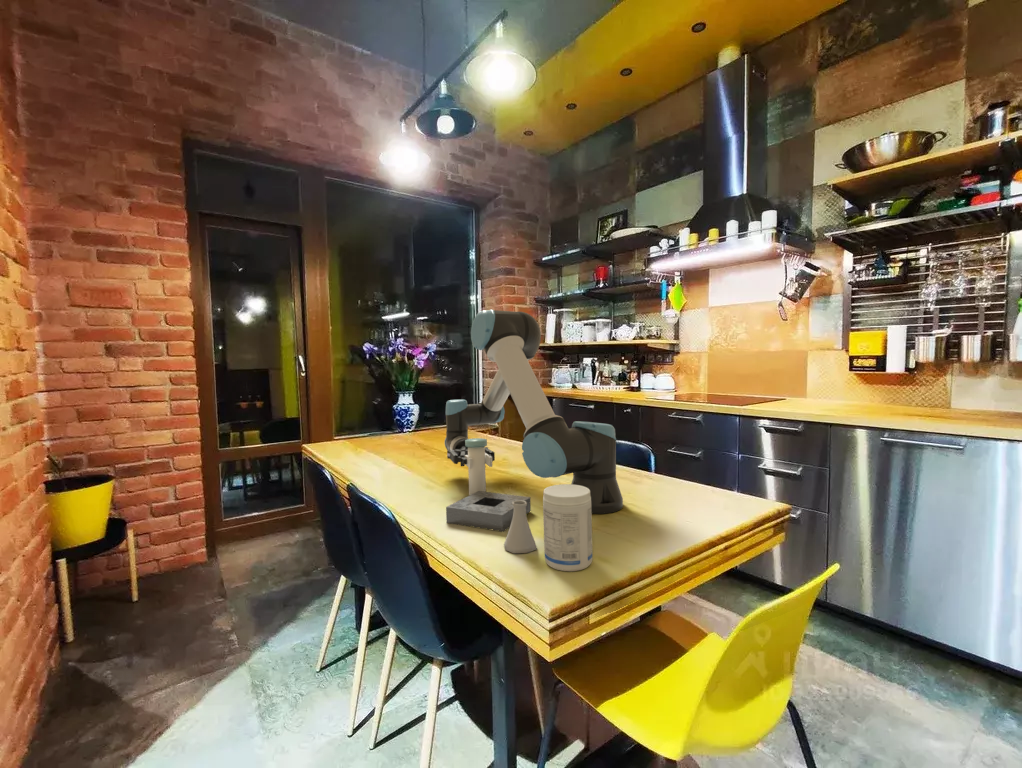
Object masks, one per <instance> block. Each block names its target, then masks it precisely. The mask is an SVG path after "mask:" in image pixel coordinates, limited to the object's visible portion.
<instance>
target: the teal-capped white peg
mask: <svg viewBox="0 0 1022 768" xmlns="http://www.w3.org/2000/svg"><path fill="white" fill-rule="evenodd" d="M465 446H466V447H468V456H469V457H470V458H472V466H473V469H470V468H469V467H467V468H468V469H467V470H468V471H467V472H468V496H469V495H471V494H473V493H475V492H478V491H483V492H487V488H486V487H487V485H486V484H487V483H486V476H487V475H486V464H485V447H488V440H487V439H486V438H483V437H482V438H481V437H480V438H468V439H467V440H465Z"/></svg>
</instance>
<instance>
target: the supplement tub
mask: <svg viewBox="0 0 1022 768" xmlns="http://www.w3.org/2000/svg"><path fill="white" fill-rule="evenodd" d="M542 509H543V510H542V513H543V544H544V545H543V546H544V551H543V552H544V562H545V564H547V565H548V566H549V567H551V568H552V569H554V570H557V571H562V572H576V571H577V572H578V571H581V570H585V569H587V568H588V567H589V566H590V565H591V564H592V562H593V523H592V521H593V519H592V517H593V515H592V514H593V513H592V512H591V496H590V490H589V489H588V488H586V487H584V486H580V485H573V484H571V483H570V484H569V483H564V484H561V483H560V484H553V485H549V486H547V487H545V488H544V489H543V497H542Z"/></svg>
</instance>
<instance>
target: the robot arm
mask: <svg viewBox="0 0 1022 768" xmlns="http://www.w3.org/2000/svg"><path fill="white" fill-rule="evenodd" d="M541 332H542V331H541V328H540V325H539V323H538V321H537V320H536V319H535V318H534V316H532V315H531V314H529V313H527V312H524V311H512V310H509V311H508V310H495V309H489V310H488V309H486V310H485V309H484V310H480V311H479V312H477V314H476V315H475V317H474V318H473V322H472V323H471V330H470V339H471V343H472V346H473V347H474V348H475V350H479V351H484V352H485V354H486V357H487V360H489V361H490V362H492V363H493V362H494V363H495V364H496V366H497V368H498V369H497V371H496V372H495V375H494V377H493V379H492V381H491V383H490V384H489V387H488V389H487V391H486V393H485V395H484V397H483V399H482V400H481V402H480V403H469V404H468V401H467V400H466V399H450V400H447V401H446V402H445V403H446V404H445V422H446V423H445V425H446V431H445V435H446V437H445V439H444V446H445V449H446V453H447V455H446V456H447V457H446V458H447V459H448V460H451V462H452V464H454V465H458V464H459V463H460V467H465V466H466V467H467V468H468V467H469V468H470V469H473V466H472V458H470V457H469V456H468V447H466V446H465V440H467V439H469V427H470V426H477V425H491V424H492V425H493V424H495V423H500V422H502V421H503V420H504V419H505V413H506V412H505V407H504V405H505V403H506V402H507V400H508V397H509V396H510V397H511V399H512V401H513V403H514V405H515V407H516V410H517V411H518V414H519V416H520V419H521V421H522V423H523V424H524V426H525V431H524V433H523V438H524V439H523V441H522V445H521V449H522V450H521V451H522V452H521V454H522V458H523V461H524V464H525V465H526V467H527V469H528V470H529V471H530V473H532V474H533V475H535V476H537V477H540V478H543V479H548V478H560V477H561V476H564V475H570V474H572V475H573V476H572V477H573V478H572V479H571V483H570V484H573V485H580V486H584V487H586V488H588V489H589V490H590V496H591V512H592V514H596V515H597V514H601V515H602V514H603V515H604V514H611V513H612V514H613V513H615V512H618V511H620V510H622V509H623V507H624V500H623V499H624V498H623V495H622V492H621V489H620V486H619V483H618V480H617V438H616V428H615V427H614V426H613V424H609V423H602V422H592V421H579V420H578V421H576V420H575V421H573V423H572V424H571V427H570V428H569V427H568V425H567V423H566V421H565V419H564V417H562V416H560V415H557V414H555V412H554V410H553V408H552V406H551V404H550V402H549V400H548V397H547V396H546V394H545V392H544V390H543V388H542V386H541V384H540V382H539V380H538V378H537V377H536V375H535V372H534V370H533V368H532V366H531V364H530V362H529V360H533V358H535V356H536V354H537V352H538V350H539V348H540V344H541V341H542V333H541ZM495 455H496V453H495V452H494V451H493V450H491V449H490V448H489V447H488V446H485V465H487V466H488V467H490V468H493V462H495Z"/></svg>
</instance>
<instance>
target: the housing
mask: <svg viewBox="0 0 1022 768" xmlns="http://www.w3.org/2000/svg"><path fill="white" fill-rule="evenodd" d="M518 500H523V501H526V502H527V506H526V514H527V513H529V512H530V511H532V510H531V497H530V496H523V495H517V494H516V495H515V494H507V493H500V492H499V493H498V492H497V493H496V492H490V491H486V492H483V491H478V492H475V493H473V494H471V495H469V494H468V495H467V496H465V497H464V498H462V499H459V500H458V501H455V502H453V503H451V504H450V505H447V506H445V516H446V517H445V518H446V519H445V520H446V524H453V525H458V524H459V526H464V525H466V526H465V527H470V526H474V527H473V528H477V527H480V528H479V529H483V528H487V529H486V530H489V529H493V530H492V531H495V530H499V531H498V532H502V531H503V532H505V531H506V530H507V529H509V528H510V525H511V522H512V519H513V512H514V506H513V504H512V502H513V501H518ZM530 513H531V512H530ZM530 513H529V514H530ZM527 515H528V514H527ZM508 527H509V528H508ZM505 529H506V530H505Z"/></svg>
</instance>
